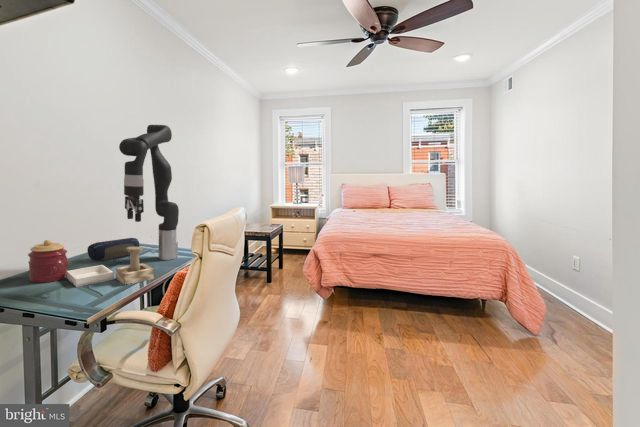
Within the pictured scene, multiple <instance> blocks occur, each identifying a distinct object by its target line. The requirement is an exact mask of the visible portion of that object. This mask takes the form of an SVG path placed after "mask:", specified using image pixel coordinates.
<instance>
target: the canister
mask: <svg viewBox="0 0 640 427" xmlns="http://www.w3.org/2000/svg"><path fill="white" fill-rule="evenodd" d="M64 248H65V245H64V244H61V243H59V242H52V240H50V239H46V240H44V241H43V243H38V244H36V245H34V246H33V247H30V249H29V250H30V251H31V252H29V253H27V256H28V257H29V260H28V269H29V274H28V277H29V278H28V279H29V281H30V282H32V283H39V284H43V283H52V282H57V281H60V280H63V279H65V278H67V274H66V271H69V270H68V268H67V260H68V257H67V255H66V254H67V252H68V250H66V249H64Z"/></svg>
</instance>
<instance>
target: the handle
mask: <svg viewBox="0 0 640 427" xmlns="http://www.w3.org/2000/svg"><path fill="white" fill-rule="evenodd" d="M127 251H128V252H130V255H129V256H130V258H129V259H130V261H129V266H130V272H133V271H138V270H140V264H141V263H140V253H141V252H142V251H143V247H141V246H139V247H128V248H127Z"/></svg>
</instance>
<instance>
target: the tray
mask: <svg viewBox="0 0 640 427" xmlns="http://www.w3.org/2000/svg"><path fill="white" fill-rule="evenodd" d="M66 274H67V277H66V279H67V280H68V281H69V282H70V283H71V284H72V283H73V284H72V285H73V286H74V287H75V286H76V288H79V287H80V288H81V287H84V285H85V286H89V285H93V284H94V285H95V284H98V283H102V282H109V281H113V280H114V279H115V273H114V271H112V270H111V269H110V268H108V267H107V266H105V265H104V264H100V265H94V266H89V267H88V266H87V267H81V268H76V269H71V270H68V271H66ZM88 284H89V285H88Z"/></svg>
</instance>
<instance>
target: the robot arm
mask: <svg viewBox="0 0 640 427" xmlns="http://www.w3.org/2000/svg"><path fill="white" fill-rule="evenodd" d="M146 128H147V129H146V133H143V134H140V135H138V136H136V137H129V138H125V139H123V140H121V142H120V143H119V146H118V149H119V151H120V153H122V154H123V156H124V155H125V156H127V157H135V158H134V160H129V161H125V162H124V178H123V188H124V189H123V194H124V209H125V210H126V213H127V214H126V215H127V219H128V220H133V219H134V222H136V223H138V222H139V223H140V222H142V213H144V212H145V211H144V209H145V208H144V198H143V199H141V198H140V197H143V196H144V191H145V190H144V176H143V175H144V165H145V161H146V160H145V159H146V157H147V154H148V151H149V150H150V151H149V152H150V158H151V166H152V167H151V168H152V178H153V184H154V197H155V198H154V200H155V201H154V202H155V205H154V209H155V213H156V215H158V216H159V217H162V218H163V222H162V223H159V224H158V259H159V260H161V261H171V260H174V259H177V258H178V257H179V255H178V254H179V253H178V251H179V242H178V241H177V228H178V224H179V214H180V212H179V211H180V210H179V206H178V204H177V203H176V202H173V201H169V196H168V192H169V188H170V185H171V183H172V179H173V177H172V176H173V175H172V174H173V173H172V167H171V165H170V163H169V161H168V160H167V159H166V158H165V156H164V155H163V153H162V152H161V150H160V148H159V145H160V144H164V143H169V142H170V141H171V140H172V138H173V137H172V136H173V135H172V130H171V128H170V127H169V126H168V125H166V124H149V125H147V127H146Z"/></svg>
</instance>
